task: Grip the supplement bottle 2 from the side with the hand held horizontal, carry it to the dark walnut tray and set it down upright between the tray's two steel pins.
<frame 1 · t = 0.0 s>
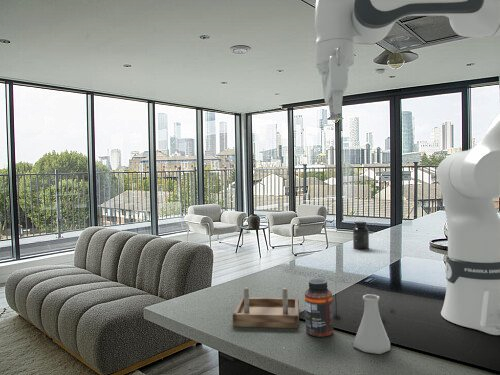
hand: (335, 116, 91), 48 cm above the countertop, tool pointing down, fingers open, 8 cm apart
supplement bottle 2: (319, 333, 83), on the countertop
supplement bottle: (361, 248, 173), on the countertop
tray: (267, 317, 93), on the countertop
flask: (371, 347, 76), on the countertop
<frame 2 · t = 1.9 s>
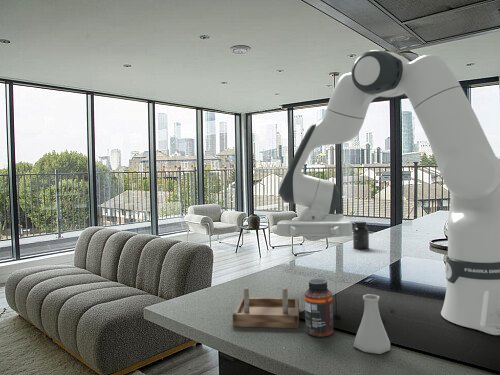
hand: (314, 232, 97), 20 cm above the countertop, tool horizontal, fingers open, 8 cm apart
nothing on the countertop moved.
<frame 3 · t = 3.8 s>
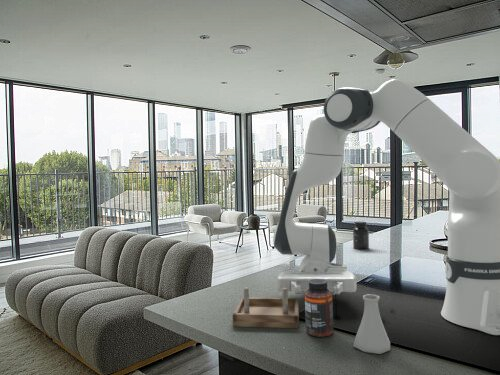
hand: (317, 290, 93), 6 cm above the countertop, tool horizontal, fingers open, 8 cm apart
nothing on the countertop moved.
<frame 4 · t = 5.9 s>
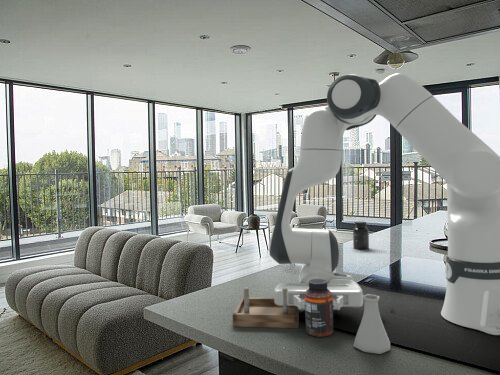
hand: (319, 306, 82), 6 cm above the countertop, tool horizontal, fingers closed on supplement bottle 2, 6 cm apart
supplement bottle 2: (319, 333, 83), on the countertop, touching gripper
everything else where it was.
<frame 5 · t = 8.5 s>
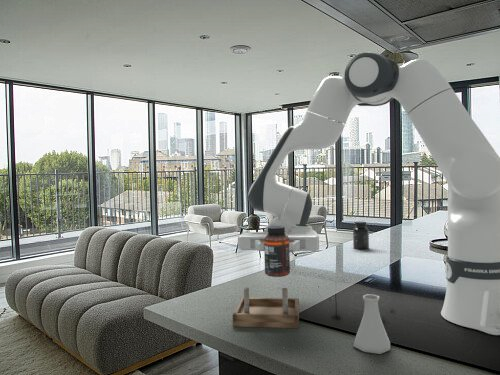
hand: (276, 247, 89), 18 cm above the countertop, tool horizontal, fingers closed on supplement bottle 2, 6 cm apart
supplement bottle 2: (277, 275, 90), point 11 cm above the countertop, touching gripper
everything else where it was.
when the fingers open (9 cm above the countertop, at t = 10.9 s): supplement bottle 2 stays where it is, resting on tray.
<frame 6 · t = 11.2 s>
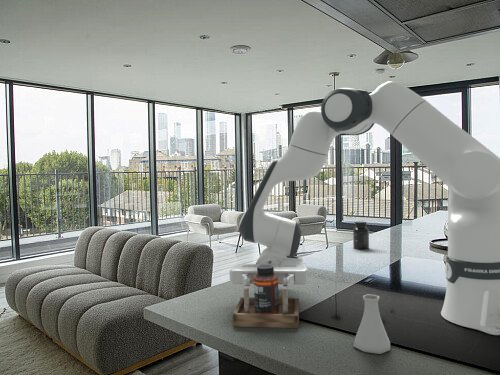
hand: (266, 282, 91), 9 cm above the countertop, tool horizontal, fingers open, 8 cm apart
supplement bottle 2: (267, 313, 93), point 1 cm above the countertop, touching tray
everything else where it was.
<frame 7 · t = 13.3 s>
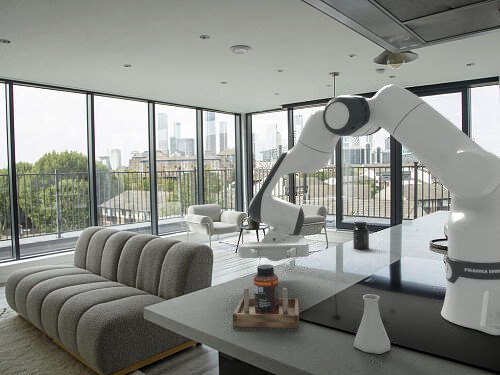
hand: (272, 254, 104), 13 cm above the countertop, tool horizontal, fingers open, 8 cm apart
nothing on the countertop moved.
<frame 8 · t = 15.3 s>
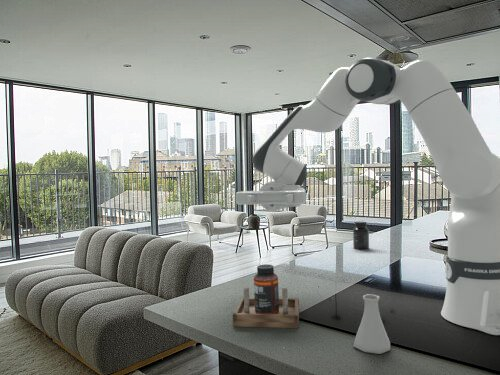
hand: (268, 199, 104), 28 cm above the countertop, tool horizontal, fingers open, 8 cm apart
nothing on the countertop moved.
at the end: supplement bottle 2 inside the target area on the tray (0.2 cm from its centre), point 1.0 cm above the tray's base; supplement bottle 2 tilted 0°; the gripper is holding nothing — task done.
